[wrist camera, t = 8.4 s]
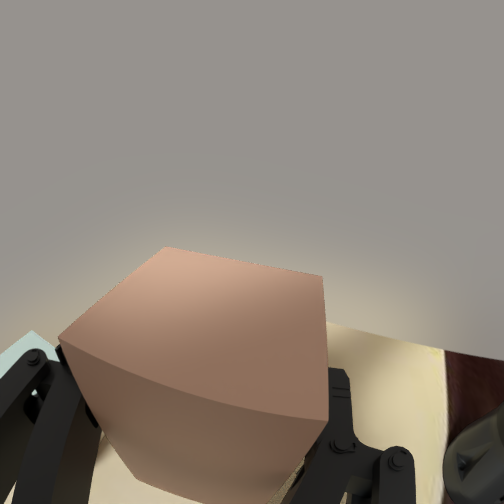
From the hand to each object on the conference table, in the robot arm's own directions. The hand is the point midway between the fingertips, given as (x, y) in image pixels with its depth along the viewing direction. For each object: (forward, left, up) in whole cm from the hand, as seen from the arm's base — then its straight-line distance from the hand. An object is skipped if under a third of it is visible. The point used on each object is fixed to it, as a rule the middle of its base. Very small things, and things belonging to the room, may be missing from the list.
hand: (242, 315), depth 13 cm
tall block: (-4, +3, -6) cm, 8 cm away
